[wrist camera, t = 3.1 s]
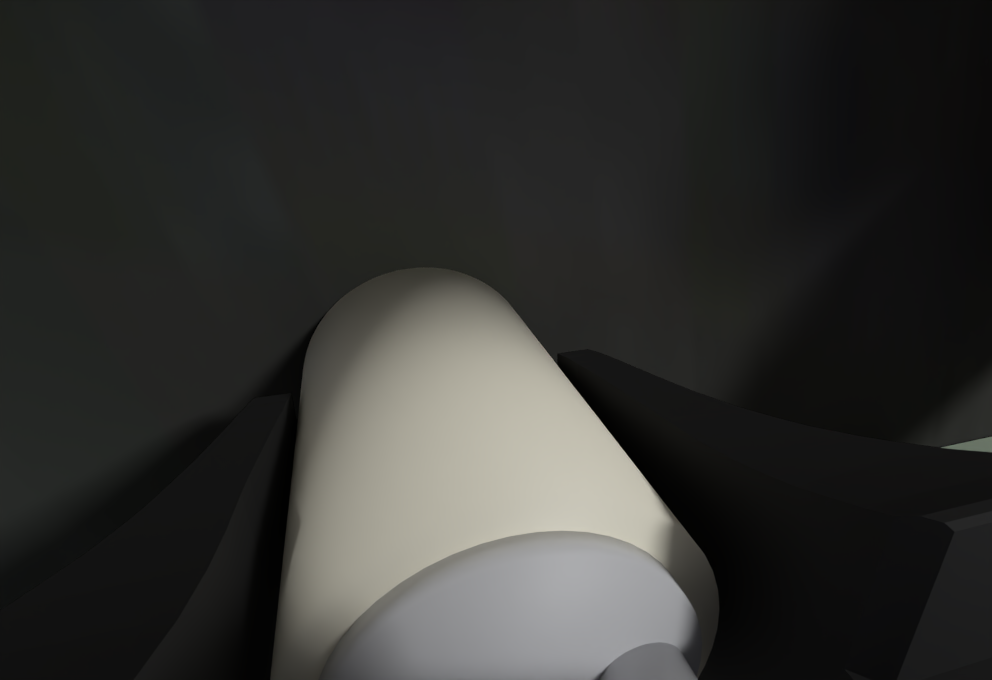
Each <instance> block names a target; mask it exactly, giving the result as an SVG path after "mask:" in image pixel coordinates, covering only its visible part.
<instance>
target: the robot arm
mask: <svg viewBox="0 0 992 680" xmlns="http://www.w3.org/2000/svg"><path fill="white" fill-rule="evenodd" d="M557 365H558V367H559V368H560V369H561V371H562V372H563V373H564V374H565V376H566V377H567V378H568V380H569V381H570V382H571V383H572V385H573V386H574V387H575V389H576V390H577V391H578V392H579V394H580V395H581V396H582V398H583V399H584V400H585V401H586V403H587V404H588V405H589V407H590V408H591V409H592V410H593V412H594V413H595V414H596V416H597V417H598V418H599V419H600V421H601V422H602V423H603V425H604V426H605V427H606V428H607V430H608V431H609V432H610V433H611V435H612V436H613V437H614V439H615V440H616V441H617V442H618V444H619V445H620V446H621V448H622V449H623V450H624V451H625V453H626V454H627V455H628V457H629V458H630V459H631V460H632V462H633V463H634V464H635V466H636V467H637V468H638V469H639V471H640V472H641V473H642V475H643V476H644V477H645V478H646V480H647V481H648V482H649V484H650V485H651V486H652V487H653V489H654V490H655V491H656V493H657V494H658V495H659V496H660V498H661V499H662V500H663V502H664V503H665V504H666V505H667V507H668V508H669V509H670V510H671V512H672V513H673V514H674V516H675V517H676V518H677V519H678V521H679V522H680V523H681V525H682V526H683V527H684V528H685V530H686V531H687V532H688V534H689V535H690V536H691V537H692V539H693V540H694V541H695V543H696V544H697V545H698V546H699V548H700V549H701V550H702V552H703V553H704V554H705V556H706V558H707V560H708V562H709V564H710V566H711V568H712V570H713V573H714V576H715V580H716V584H717V588H718V596H719V618H718V628H717V632H716V636H715V639H714V643H713V647H712V650H711V652H710V654H709V657H708V659H707V662H706V664H705V667H704V668H703V670H702V672H701V674H700V676H699V677H698V680H992V452H982V451H970V450H957V449H947V448H939V447H931V446H924V445H916V444H909V443H901V442H893V441H887V440H881V439H875V438H869V437H863V436H857V435H852V434H847V433H842V432H837V431H832V430H827V429H822V428H817V427H812V426H808V425H804V424H799V423H795V422H791V421H787V420H783V419H780V418H776V417H773V416H769V415H765V414H762V413H758V412H755V411H751V410H747V409H744V408H741V407H738V406H735V405H732V404H729V403H726V402H723V401H720V400H717V399H714V398H712V397H709V396H706V395H703V394H700V393H698V392H695V391H692V390H690V389H687V388H685V387H682V386H679V385H677V384H674V383H672V382H669V381H667V380H665V379H662V378H660V377H657V376H655V375H653V374H650V373H648V372H645V371H643V370H641V369H638V368H636V367H634V366H631V365H629V364H627V363H624V362H622V361H619V360H617V359H614V358H612V357H609V356H607V355H604V354H602V353H599V352H596V351H592V350H589V349H586V350H579V351H572V352H565V353H559V354H558V364H557ZM296 431H297V419H296V414H295V409H294V404H293V400H292V395H291V393H286V394H279V395H273V396H266V397H259V398H254V399H253V400H252V401H251V402H250V403H249V404H248V405H247V406H246V407H245V408H244V409H243V410H242V411H241V412H240V413H239V414H238V415H237V416H236V417H235V419H234V420H233V421H232V422H231V423H230V424H229V425H228V426H227V427H226V428H225V429H224V430H223V432H222V433H221V434H220V435H219V436H218V437H217V438H216V439H215V440H214V441H213V442H212V443H211V444H210V445H209V446H208V447H207V448H206V449H205V450H204V451H203V452H202V453H201V454H200V456H199V457H198V458H197V459H196V460H195V461H194V462H193V463H191V464H190V465H189V466H188V467H187V468H186V469H185V470H184V471H183V472H182V473H181V474H180V475H179V476H178V477H176V478H175V479H174V480H173V481H172V482H171V483H170V484H169V485H168V486H167V487H166V488H165V489H164V490H163V491H161V492H160V493H159V494H158V495H157V496H156V497H155V498H154V499H153V500H152V501H151V502H149V503H148V504H147V505H146V506H145V507H144V508H142V509H141V510H140V511H139V512H138V513H136V514H135V515H134V516H133V517H132V518H130V519H129V520H128V521H127V522H125V523H124V524H123V525H122V526H120V527H119V528H118V529H116V530H115V531H114V532H113V533H111V534H110V535H109V536H107V537H106V538H105V539H103V540H102V541H101V542H100V543H98V544H97V545H96V546H94V547H93V548H92V549H90V550H89V551H88V552H86V553H85V554H83V555H82V556H81V557H79V558H78V559H76V560H75V561H73V562H72V563H70V564H69V565H67V566H66V567H64V568H63V569H61V570H60V571H58V572H57V573H56V574H54V575H53V576H51V577H50V578H48V579H47V580H45V581H44V582H42V583H41V584H39V585H38V586H36V587H35V588H33V589H32V590H30V591H29V592H27V593H26V594H24V595H23V596H21V597H20V598H18V599H17V600H15V601H14V602H12V603H11V604H9V605H8V606H6V607H5V608H3V609H1V610H0V680H270V676H271V667H272V657H273V648H274V638H275V629H276V620H277V610H278V601H279V591H280V582H281V573H282V563H283V554H284V544H285V535H286V525H287V516H288V507H289V497H290V488H291V478H292V469H293V460H294V450H295V441H296Z"/></svg>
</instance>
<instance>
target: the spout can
mask: <svg viewBox="0 0 992 680" xmlns="http://www.w3.org/2000/svg"><path fill="white" fill-rule="evenodd" d="M718 618H719V596H718V588H717V584H716V580H715V576H714V573H713V570H712V568H711V566H710V564H709V562H708V560H707V558H706V556H705V554H704V553H703V552H702V550H701V549H700V548H699V546H698V545H697V544H696V543H695V541H694V540H693V539H692V537H691V536H690V535H689V534H688V532H687V531H686V530H685V528H684V527H683V526H682V525H681V523H680V522H679V521H678V519H677V518H676V517H675V516H674V514H673V513H672V512H671V510H670V509H669V508H668V507H667V505H666V504H665V503H664V502H663V500H662V499H661V498H660V496H659V495H658V494H657V493H656V491H655V490H654V489H653V487H652V486H651V485H650V484H649V482H648V481H647V480H646V478H645V477H644V476H643V475H642V473H641V472H640V471H639V469H638V468H637V467H636V466H635V464H634V463H633V462H632V460H631V459H630V458H629V457H628V455H627V454H626V453H625V451H624V450H623V449H622V448H621V446H620V445H619V444H618V442H617V441H616V440H615V439H614V437H613V436H612V435H611V433H610V432H609V431H608V430H607V428H606V427H605V426H604V425H603V423H602V422H601V421H600V419H599V418H598V417H597V416H596V414H595V413H594V412H593V410H592V409H591V408H590V407H589V405H588V404H587V403H586V401H585V400H584V399H583V398H582V396H581V395H580V394H579V392H578V391H577V390H576V389H575V387H574V386H573V385H572V383H571V382H570V381H569V380H568V378H567V377H566V376H565V374H564V373H563V372H562V371H561V369H560V368H559V367H558V365H557V364H556V363H555V362H554V360H553V359H552V358H551V357H550V355H549V354H548V353H547V351H546V350H545V349H544V348H543V346H542V345H541V344H540V342H539V341H538V340H537V339H536V337H535V336H534V335H533V333H532V332H531V331H530V330H529V328H528V327H527V326H526V324H525V323H524V322H523V321H522V319H521V318H520V317H519V315H518V314H517V313H516V312H515V310H514V309H513V308H512V306H511V305H510V304H509V303H508V301H507V300H506V299H504V298H503V297H502V296H501V295H500V294H499V293H498V292H497V291H496V290H494V289H493V288H491V287H490V286H489V285H487V284H486V283H484V282H482V281H480V280H478V279H476V278H474V277H472V276H469V275H466V274H464V273H461V272H457V271H453V270H448V269H443V268H431V267H421V268H408V269H402V270H397V271H393V272H390V273H386V274H383V275H380V276H377V277H375V278H373V279H371V280H369V281H366V282H364V283H363V284H361V285H359V286H358V287H356V288H354V289H353V290H351V291H350V292H349V293H347V294H346V295H345V296H344V297H342V298H341V299H340V300H339V301H338V302H337V303H336V304H335V305H334V306H333V307H332V308H331V309H330V310H329V311H328V312H327V313H326V315H325V316H324V317H323V319H322V320H321V322H320V323H319V324H318V326H317V328H316V330H315V332H314V334H313V336H312V337H311V340H310V343H309V345H308V348H307V351H306V355H305V361H304V366H303V375H302V384H301V394H300V403H299V412H298V422H297V431H296V441H295V450H294V460H293V469H292V478H291V488H290V497H289V507H288V516H287V525H286V535H285V544H284V554H283V563H282V573H281V582H280V591H279V601H278V610H277V620H276V629H275V638H274V648H273V657H272V667H271V676H270V680H698V677H699V676H700V674H701V672H702V670H703V668H704V667H705V664H706V662H707V659H708V657H709V654H710V652H711V650H712V647H713V643H714V639H715V636H716V632H717V628H718Z"/></svg>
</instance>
